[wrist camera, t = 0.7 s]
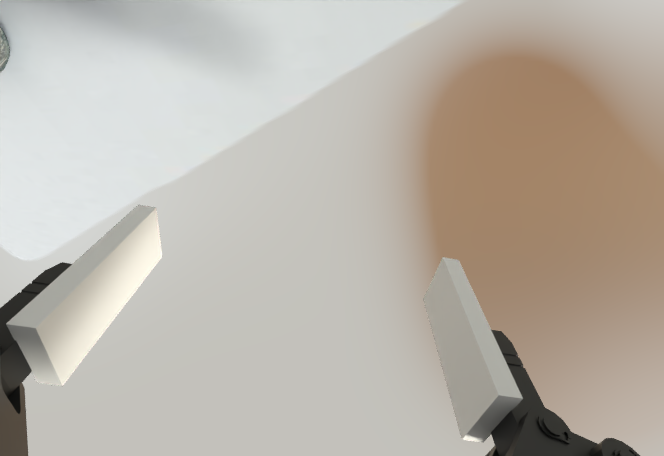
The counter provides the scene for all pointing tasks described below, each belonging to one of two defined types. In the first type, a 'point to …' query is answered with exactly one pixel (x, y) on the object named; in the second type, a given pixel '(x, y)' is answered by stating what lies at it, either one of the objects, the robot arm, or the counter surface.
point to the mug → (3, 50)
